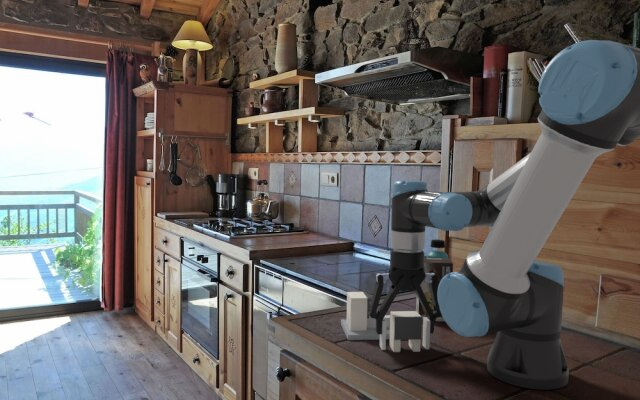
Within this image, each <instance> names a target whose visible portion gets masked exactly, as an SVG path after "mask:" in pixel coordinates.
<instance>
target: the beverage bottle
mask: <svg viewBox="0 0 640 400" xmlns="http://www.w3.org/2000/svg"><path fill="white" fill-rule="evenodd" d="M430 248H435V249H436V250H430V251H428V252H427V253H426V258H449V255H448V254H447V253H446V251H443V250H437V249H445V248H446V241H445V240H443V239H431V240H430Z"/></svg>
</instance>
